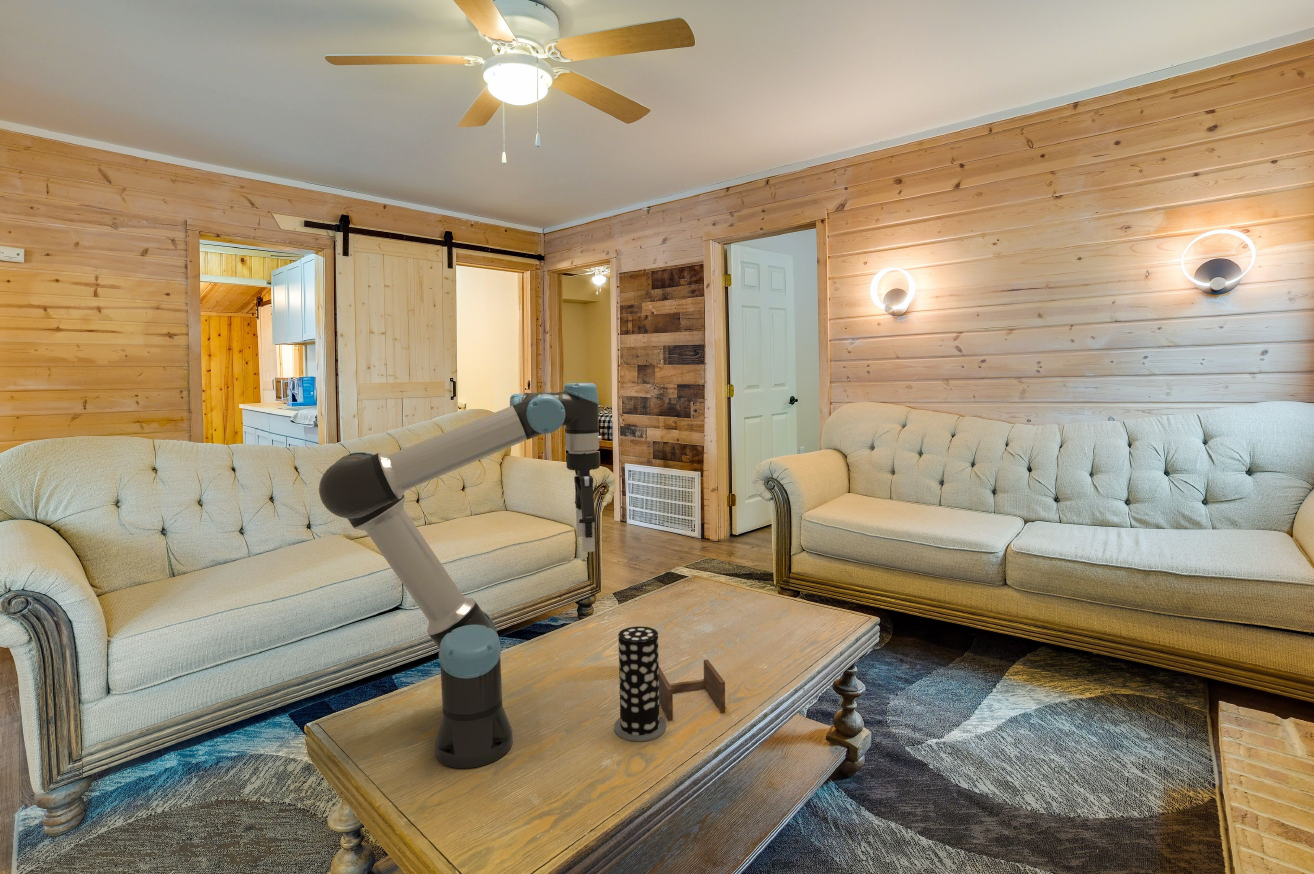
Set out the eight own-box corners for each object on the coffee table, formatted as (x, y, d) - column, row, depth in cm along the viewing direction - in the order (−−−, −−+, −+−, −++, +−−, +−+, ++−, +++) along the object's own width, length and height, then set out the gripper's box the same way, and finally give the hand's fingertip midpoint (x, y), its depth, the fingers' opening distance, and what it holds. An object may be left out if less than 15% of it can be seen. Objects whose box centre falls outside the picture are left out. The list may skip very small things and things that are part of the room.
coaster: (619, 745, 133) (619, 742, 133) (610, 718, 144) (610, 715, 144) (672, 737, 136) (671, 734, 136) (658, 711, 146) (658, 708, 146)
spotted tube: (655, 737, 135) (653, 643, 133) (615, 733, 137) (613, 640, 135) (662, 716, 143) (661, 627, 141) (625, 713, 145) (623, 625, 143)
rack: (668, 720, 142) (667, 689, 142) (654, 693, 154) (654, 665, 154) (725, 712, 145) (724, 681, 145) (707, 686, 158) (706, 658, 157)
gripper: (606, 457, 137) (609, 556, 139) (593, 445, 161) (595, 530, 163) (570, 458, 135) (573, 559, 137) (562, 446, 160) (565, 532, 162)
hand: (585, 543), depth 150 cm, fingers open, 13 cm apart
